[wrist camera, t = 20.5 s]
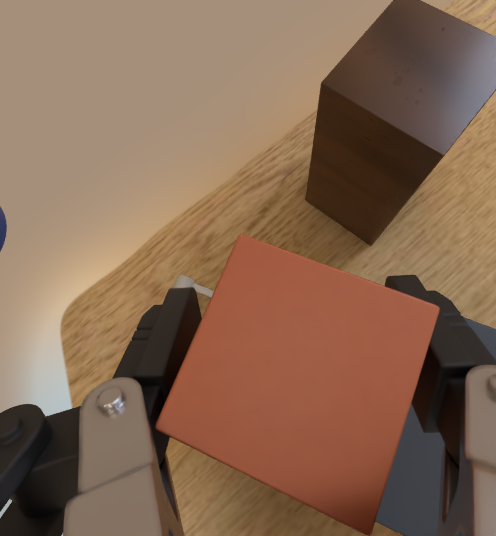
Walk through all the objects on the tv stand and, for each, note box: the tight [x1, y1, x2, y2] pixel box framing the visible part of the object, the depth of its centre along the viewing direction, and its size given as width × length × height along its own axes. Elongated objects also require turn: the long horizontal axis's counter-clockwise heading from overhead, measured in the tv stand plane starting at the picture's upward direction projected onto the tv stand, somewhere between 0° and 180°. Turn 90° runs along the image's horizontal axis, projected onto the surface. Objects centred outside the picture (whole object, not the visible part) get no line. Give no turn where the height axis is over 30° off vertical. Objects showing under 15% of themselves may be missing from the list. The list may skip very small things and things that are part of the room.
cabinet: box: [375, 318, 496, 536], centre depth 26 cm, size 15×14×9 cm
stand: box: [305, 0, 496, 246], centre depth 27 cm, size 8×8×16 cm
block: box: [155, 234, 440, 536], centre depth 11 cm, size 4×4×8 cm
